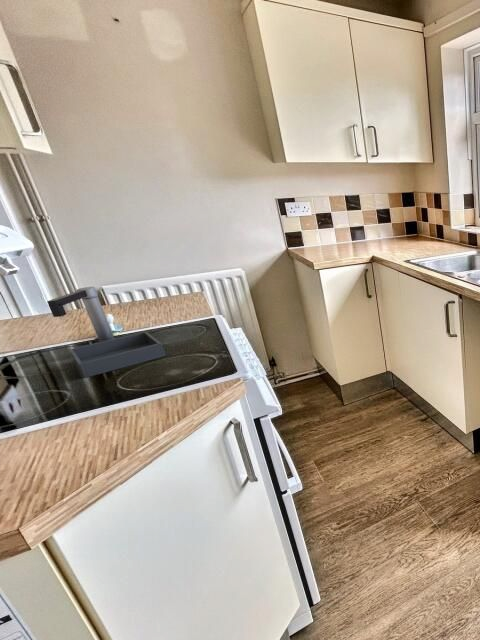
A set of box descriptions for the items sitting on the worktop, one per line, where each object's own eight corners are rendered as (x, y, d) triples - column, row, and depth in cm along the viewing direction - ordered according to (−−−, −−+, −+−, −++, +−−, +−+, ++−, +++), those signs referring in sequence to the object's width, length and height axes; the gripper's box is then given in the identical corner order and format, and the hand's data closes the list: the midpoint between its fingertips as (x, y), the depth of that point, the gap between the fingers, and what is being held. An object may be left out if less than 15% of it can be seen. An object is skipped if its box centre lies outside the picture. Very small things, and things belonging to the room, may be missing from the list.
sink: (85, 378, 96) (78, 364, 95) (74, 362, 104) (68, 349, 103) (166, 355, 107) (161, 343, 105) (150, 343, 115) (146, 331, 114)
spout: (49, 317, 97) (41, 301, 96) (89, 301, 109) (82, 287, 108) (66, 316, 98) (58, 300, 96) (104, 300, 110) (98, 286, 108)
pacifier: (93, 341, 117) (121, 336, 120) (83, 320, 115) (112, 315, 118) (98, 334, 123) (125, 329, 126) (89, 314, 120) (116, 309, 123)
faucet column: (98, 353, 109) (76, 302, 104) (94, 348, 112) (72, 298, 107) (126, 347, 113) (106, 296, 108) (121, 342, 116) (101, 293, 111)
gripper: (-112, 227, 84) (-35, 274, 88) (0, 215, 103) (59, 254, 107) (-121, 250, 85) (-45, 295, 89) (-9, 234, 104) (49, 272, 108)
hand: (12, 272), depth 98 cm, fingers closed
